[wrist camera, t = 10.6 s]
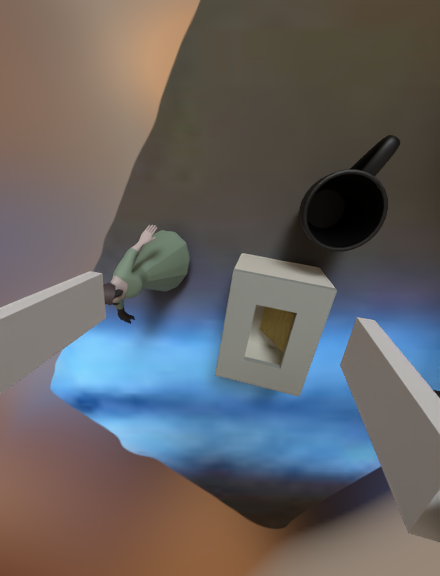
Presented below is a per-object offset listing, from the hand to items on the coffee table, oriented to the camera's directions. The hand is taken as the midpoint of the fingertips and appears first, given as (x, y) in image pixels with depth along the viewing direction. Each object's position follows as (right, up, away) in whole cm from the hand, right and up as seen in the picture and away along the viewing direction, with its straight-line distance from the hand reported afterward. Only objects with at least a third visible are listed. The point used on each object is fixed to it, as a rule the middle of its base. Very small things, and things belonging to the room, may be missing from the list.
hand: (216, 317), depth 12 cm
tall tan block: (+8, -2, +26) cm, 28 cm away
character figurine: (-9, +6, +29) cm, 30 cm away
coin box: (+8, -2, +28) cm, 29 cm away
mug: (+16, +14, +21) cm, 30 cm away
